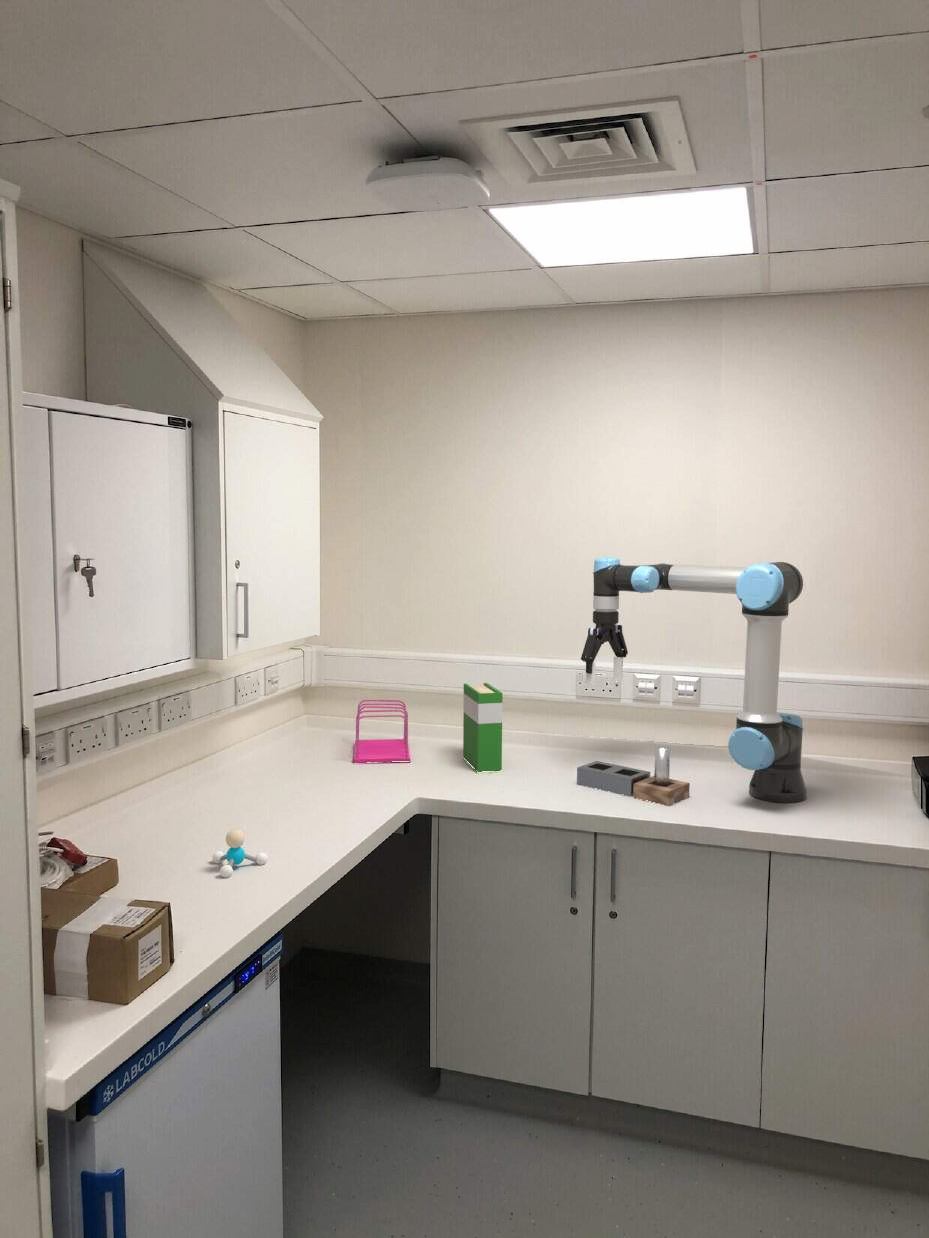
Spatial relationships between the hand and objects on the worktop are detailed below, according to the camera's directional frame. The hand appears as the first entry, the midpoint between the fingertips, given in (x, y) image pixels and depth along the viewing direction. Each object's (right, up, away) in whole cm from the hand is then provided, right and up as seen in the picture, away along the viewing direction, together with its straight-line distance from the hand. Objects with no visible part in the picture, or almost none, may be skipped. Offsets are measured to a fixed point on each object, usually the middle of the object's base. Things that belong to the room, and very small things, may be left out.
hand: (604, 681), depth 288 cm
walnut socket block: (+12, -30, -22) cm, 39 cm away
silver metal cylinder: (+12, -30, -22) cm, 39 cm away
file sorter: (-68, -25, +25) cm, 77 cm away
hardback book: (-36, -27, +11) cm, 46 cm away
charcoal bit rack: (+1, -29, -12) cm, 31 cm away
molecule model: (-92, -36, -76) cm, 125 cm away
